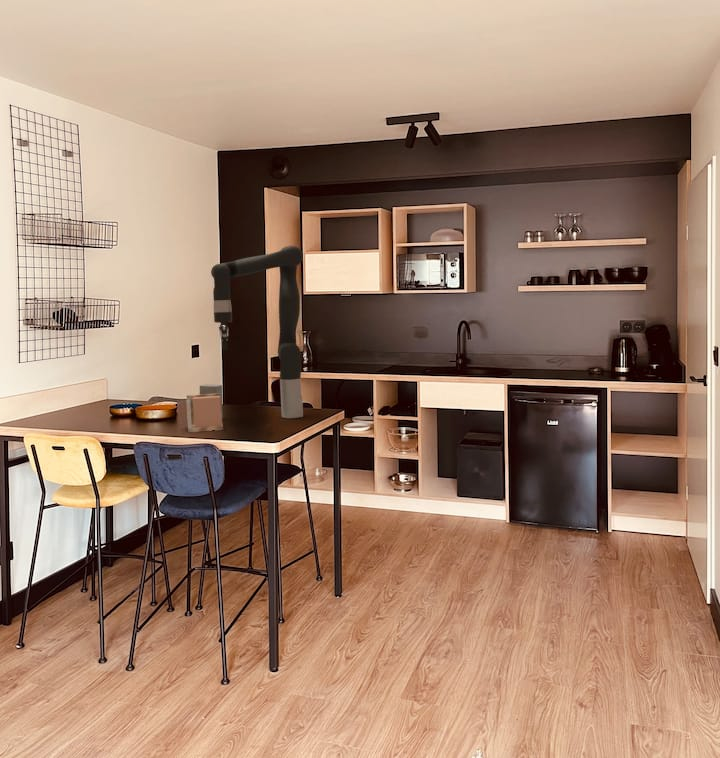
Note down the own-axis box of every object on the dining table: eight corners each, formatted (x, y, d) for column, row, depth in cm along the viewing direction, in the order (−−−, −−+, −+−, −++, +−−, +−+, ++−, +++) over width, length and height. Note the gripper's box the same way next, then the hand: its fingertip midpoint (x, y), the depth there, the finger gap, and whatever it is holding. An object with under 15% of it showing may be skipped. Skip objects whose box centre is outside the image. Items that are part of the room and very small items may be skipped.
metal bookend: (192, 423, 315) (190, 397, 313) (191, 428, 304) (190, 401, 302) (188, 423, 314) (186, 398, 313) (188, 428, 303) (186, 402, 302)
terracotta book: (221, 424, 312) (219, 395, 310) (221, 425, 307) (220, 397, 306) (194, 425, 309) (192, 397, 308) (194, 427, 305) (192, 398, 303)
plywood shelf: (222, 424, 319) (220, 393, 317) (223, 429, 306) (221, 397, 305) (188, 426, 316) (186, 395, 314) (188, 432, 303) (186, 399, 302)
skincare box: (199, 421, 329) (197, 385, 327) (207, 418, 335) (205, 383, 333) (216, 421, 326) (214, 386, 324) (224, 418, 333) (222, 383, 331)
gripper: (232, 311, 310) (234, 349, 312) (230, 310, 324) (232, 347, 326) (214, 311, 309) (216, 350, 311) (213, 310, 323) (215, 348, 325)
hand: (224, 349), depth 318 cm, fingers open, 8 cm apart
